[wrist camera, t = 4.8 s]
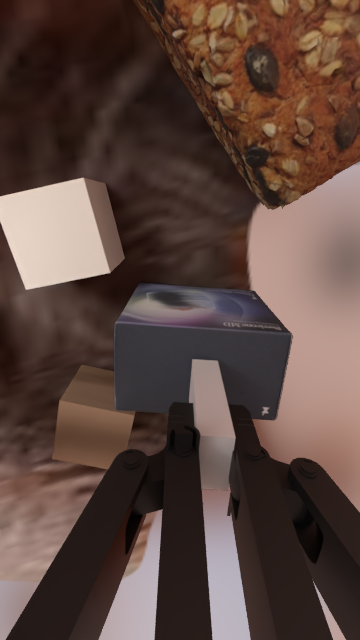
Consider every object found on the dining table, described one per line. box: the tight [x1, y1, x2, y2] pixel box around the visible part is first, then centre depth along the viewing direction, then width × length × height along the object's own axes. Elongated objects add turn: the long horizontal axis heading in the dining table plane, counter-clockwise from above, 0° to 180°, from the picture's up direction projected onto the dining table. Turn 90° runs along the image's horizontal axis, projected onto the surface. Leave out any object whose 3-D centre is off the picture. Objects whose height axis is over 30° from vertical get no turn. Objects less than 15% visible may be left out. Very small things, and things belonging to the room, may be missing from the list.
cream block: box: [0, 178, 125, 290], centre depth 23 cm, size 6×6×6 cm
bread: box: [133, 0, 360, 210], centre depth 17 cm, size 19×11×10 cm, turn 36°
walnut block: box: [52, 365, 136, 469], centre depth 29 cm, size 6×6×6 cm
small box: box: [114, 282, 293, 420], centre depth 24 cm, size 11×6×10 cm, turn 86°
